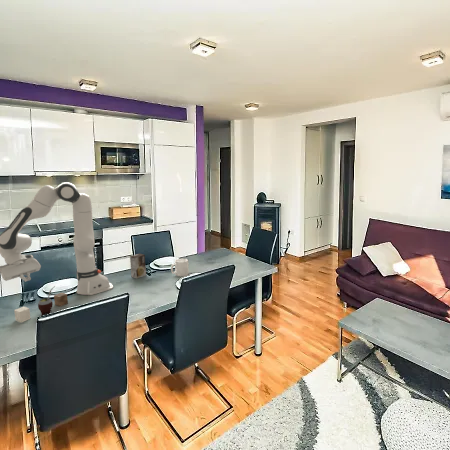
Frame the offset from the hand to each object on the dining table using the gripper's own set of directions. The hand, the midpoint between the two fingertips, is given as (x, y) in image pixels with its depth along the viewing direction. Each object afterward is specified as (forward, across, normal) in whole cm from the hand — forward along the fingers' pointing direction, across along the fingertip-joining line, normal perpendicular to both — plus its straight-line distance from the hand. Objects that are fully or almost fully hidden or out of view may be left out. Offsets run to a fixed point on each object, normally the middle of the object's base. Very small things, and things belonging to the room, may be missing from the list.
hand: (28, 280), depth 183 cm
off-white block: (+20, -12, +3) cm, 23 cm away
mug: (+44, +86, -16) cm, 98 cm away
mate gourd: (+23, -1, +1) cm, 23 cm away
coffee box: (+25, +68, +1) cm, 73 cm away
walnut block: (+20, +10, +4) cm, 23 cm away
